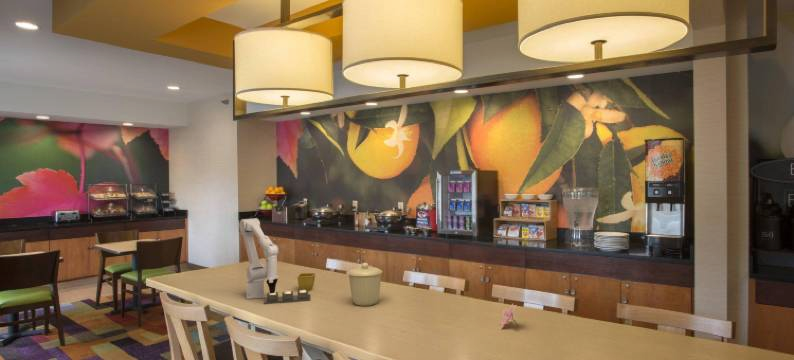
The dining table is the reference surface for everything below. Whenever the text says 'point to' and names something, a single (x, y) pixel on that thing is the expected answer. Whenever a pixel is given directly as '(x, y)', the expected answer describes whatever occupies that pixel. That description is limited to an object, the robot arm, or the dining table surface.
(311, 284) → the flower pot
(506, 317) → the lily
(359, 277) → the canister
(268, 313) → the dining table surface
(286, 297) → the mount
